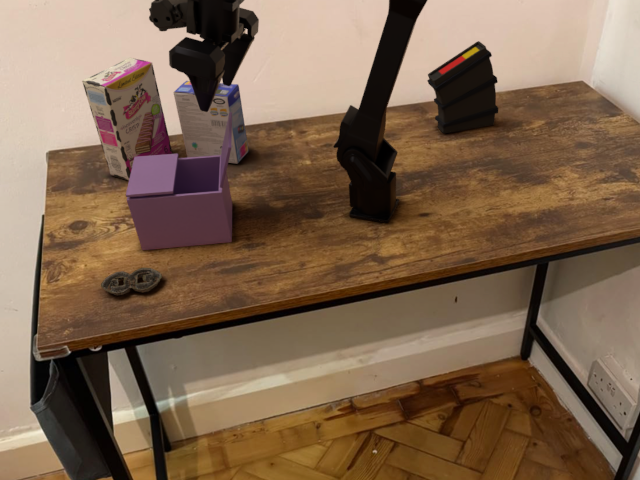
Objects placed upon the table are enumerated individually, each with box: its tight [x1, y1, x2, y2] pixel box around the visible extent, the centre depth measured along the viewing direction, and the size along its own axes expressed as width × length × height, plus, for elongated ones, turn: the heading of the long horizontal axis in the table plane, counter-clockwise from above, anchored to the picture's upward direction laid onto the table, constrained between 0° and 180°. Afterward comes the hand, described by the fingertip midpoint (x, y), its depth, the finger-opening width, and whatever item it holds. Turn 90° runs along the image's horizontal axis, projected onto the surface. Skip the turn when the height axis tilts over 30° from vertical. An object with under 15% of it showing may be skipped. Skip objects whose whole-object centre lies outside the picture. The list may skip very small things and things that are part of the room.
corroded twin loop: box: [100, 267, 163, 296], centre depth 91 cm, size 5×8×1 cm, turn 105°
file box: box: [125, 153, 233, 251], centre depth 99 cm, size 13×11×9 cm
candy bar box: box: [81, 57, 173, 182], centre depth 110 cm, size 11×5×16 cm, turn 155°
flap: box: [220, 112, 232, 188], centre depth 95 cm, size 6×11×1 cm
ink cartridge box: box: [173, 80, 250, 165], centre depth 113 cm, size 10×6×14 cm, turn 78°
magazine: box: [426, 41, 499, 134], centre depth 122 cm, size 4×13×15 cm, turn 111°
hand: (215, 97), depth 97 cm, fingers open, 9 cm apart
